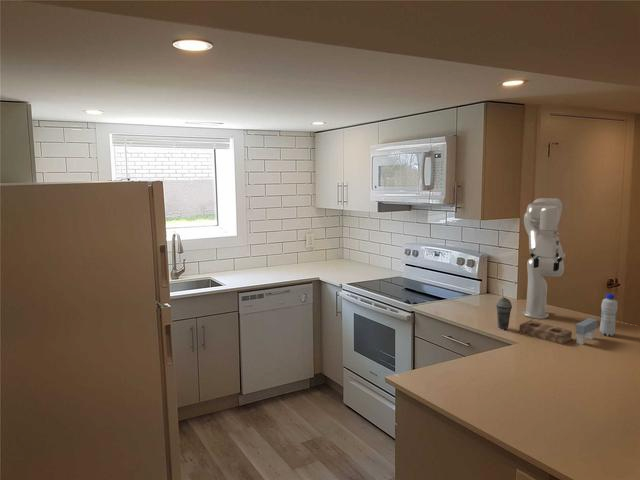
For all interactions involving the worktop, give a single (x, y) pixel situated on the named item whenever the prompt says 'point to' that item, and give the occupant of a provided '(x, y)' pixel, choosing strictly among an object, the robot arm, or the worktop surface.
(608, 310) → the bottle
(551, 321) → the worktop surface
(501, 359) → the worktop surface
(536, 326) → the brown rectangular block
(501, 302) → the beverage cup
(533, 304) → the robot arm
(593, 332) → the grey block
